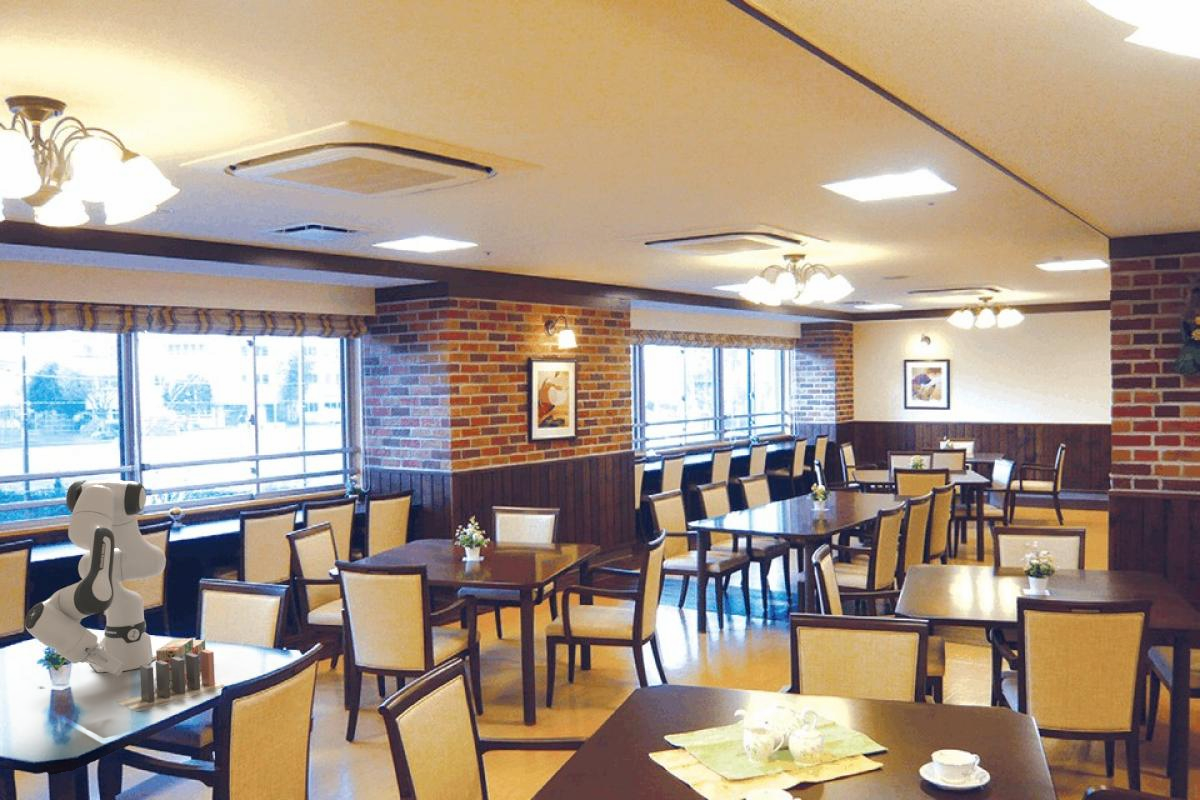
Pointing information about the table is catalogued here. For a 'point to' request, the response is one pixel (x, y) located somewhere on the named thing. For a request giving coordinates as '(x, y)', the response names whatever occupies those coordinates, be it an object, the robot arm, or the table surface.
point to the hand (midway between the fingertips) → (118, 672)
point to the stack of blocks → (180, 652)
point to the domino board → (139, 704)
